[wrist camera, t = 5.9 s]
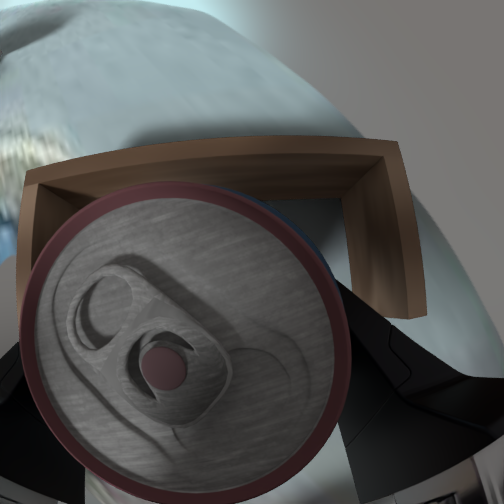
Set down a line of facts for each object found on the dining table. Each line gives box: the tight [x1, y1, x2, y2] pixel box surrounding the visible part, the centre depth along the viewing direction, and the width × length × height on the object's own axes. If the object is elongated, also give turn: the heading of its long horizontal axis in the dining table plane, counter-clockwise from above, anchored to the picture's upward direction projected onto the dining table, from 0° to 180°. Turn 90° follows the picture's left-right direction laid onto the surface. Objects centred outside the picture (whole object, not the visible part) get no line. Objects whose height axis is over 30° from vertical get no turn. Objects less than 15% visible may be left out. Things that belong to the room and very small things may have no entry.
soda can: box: [19, 181, 352, 504], centre depth 10 cm, size 7×7×12 cm
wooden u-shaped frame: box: [16, 136, 427, 327], centre depth 16 cm, size 9×21×7 cm, turn 94°
